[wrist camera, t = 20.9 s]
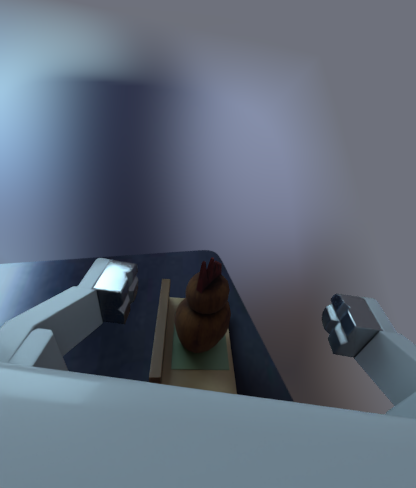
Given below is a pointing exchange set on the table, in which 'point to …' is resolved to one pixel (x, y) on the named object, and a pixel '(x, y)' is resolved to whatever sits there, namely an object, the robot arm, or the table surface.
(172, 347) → the l-shaped display stand
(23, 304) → the table surface
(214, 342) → the wooden figurine
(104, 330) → the table surface
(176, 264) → the table surface
